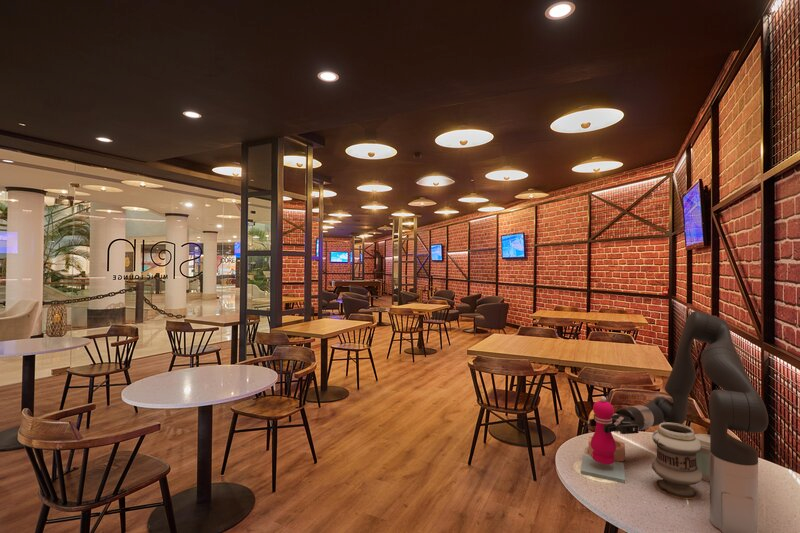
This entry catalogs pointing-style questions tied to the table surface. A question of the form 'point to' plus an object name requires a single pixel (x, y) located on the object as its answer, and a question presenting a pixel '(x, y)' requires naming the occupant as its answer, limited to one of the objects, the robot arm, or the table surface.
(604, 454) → the pepper mill
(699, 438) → the coffee cup
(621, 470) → the board
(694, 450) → the apothecary jar
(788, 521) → the table surface
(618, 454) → the holder ring
